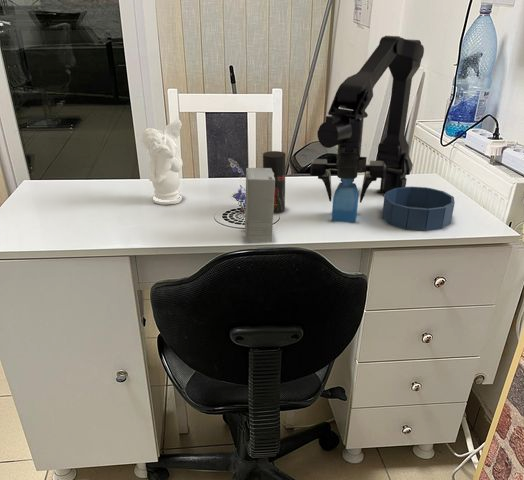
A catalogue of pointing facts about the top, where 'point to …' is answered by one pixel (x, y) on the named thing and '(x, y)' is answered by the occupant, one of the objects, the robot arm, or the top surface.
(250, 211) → the cosmetic box
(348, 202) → the perfume bottle
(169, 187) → the cherub figurine
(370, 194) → the top surface
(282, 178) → the deodorant
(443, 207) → the blue round bin
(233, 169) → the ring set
